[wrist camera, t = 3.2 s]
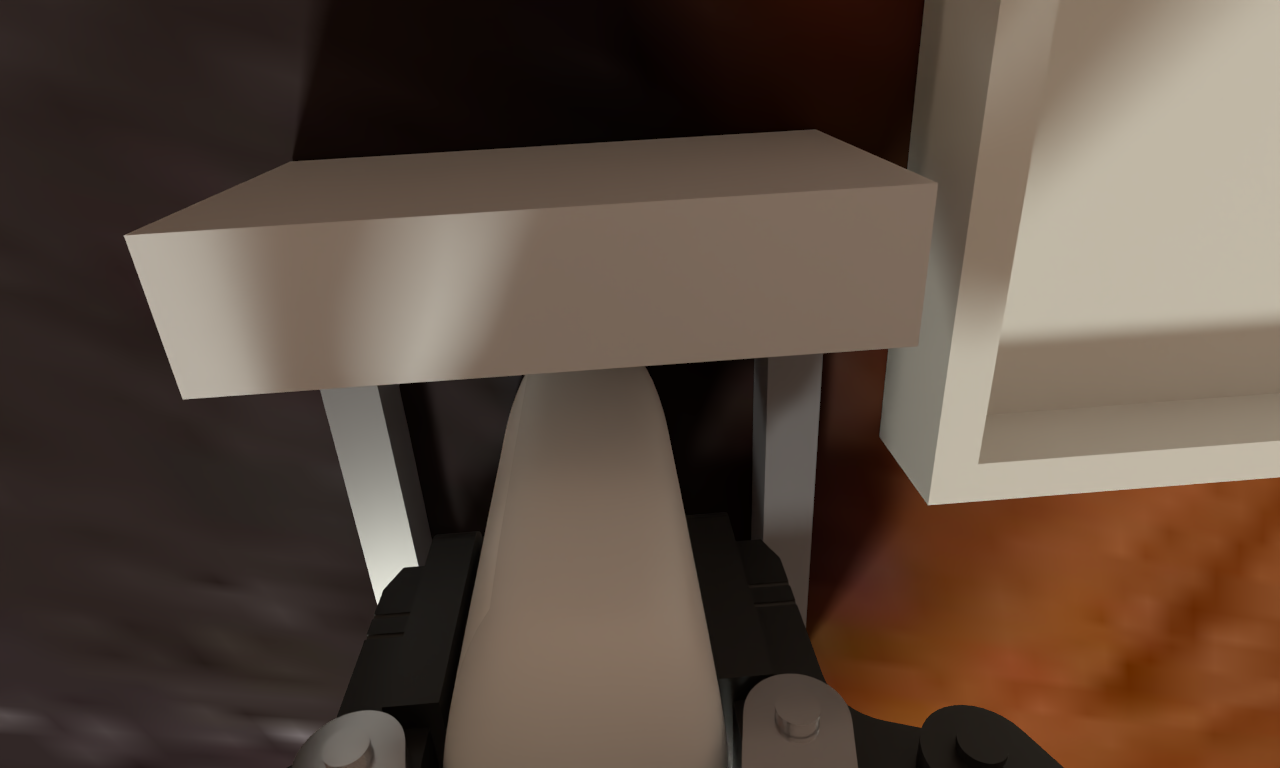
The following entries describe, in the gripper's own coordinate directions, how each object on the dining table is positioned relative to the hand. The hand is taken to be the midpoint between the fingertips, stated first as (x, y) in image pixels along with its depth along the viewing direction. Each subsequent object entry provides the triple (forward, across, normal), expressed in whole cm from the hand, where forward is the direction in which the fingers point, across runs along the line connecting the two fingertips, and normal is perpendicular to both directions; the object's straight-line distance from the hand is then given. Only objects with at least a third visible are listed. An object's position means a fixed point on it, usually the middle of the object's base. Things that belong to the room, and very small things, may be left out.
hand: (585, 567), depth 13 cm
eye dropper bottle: (+3, 0, 0) cm, 3 cm away
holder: (+3, 0, 0) cm, 3 cm away
